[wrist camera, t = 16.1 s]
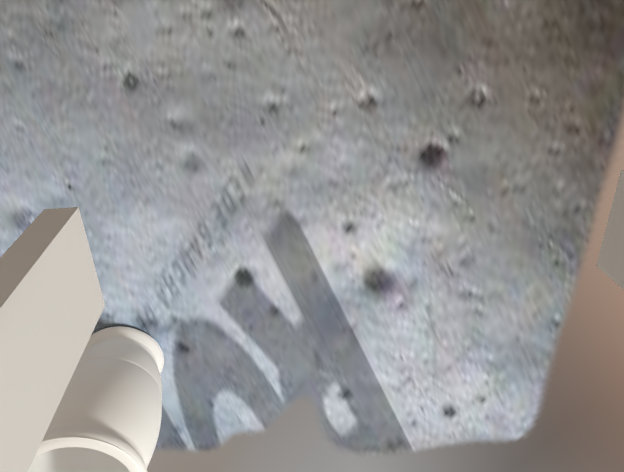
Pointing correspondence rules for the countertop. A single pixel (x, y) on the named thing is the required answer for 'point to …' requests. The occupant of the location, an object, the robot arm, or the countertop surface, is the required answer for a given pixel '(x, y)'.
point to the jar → (107, 407)
